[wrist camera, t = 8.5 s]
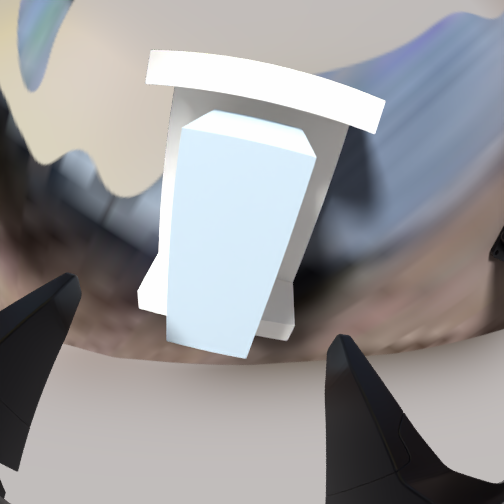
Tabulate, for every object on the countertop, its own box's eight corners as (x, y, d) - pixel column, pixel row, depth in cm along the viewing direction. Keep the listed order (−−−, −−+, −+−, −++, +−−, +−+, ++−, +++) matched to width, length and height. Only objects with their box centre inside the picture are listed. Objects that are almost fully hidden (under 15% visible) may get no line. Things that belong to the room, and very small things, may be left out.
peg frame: (184, 55, 13) (150, 49, 9) (355, 93, 14) (385, 100, 10) (161, 263, 22) (138, 308, 18) (286, 290, 22) (287, 341, 18)
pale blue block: (253, 291, 18) (245, 358, 14) (189, 277, 17) (166, 340, 13) (301, 128, 12) (316, 157, 8) (215, 109, 12) (181, 127, 8)
